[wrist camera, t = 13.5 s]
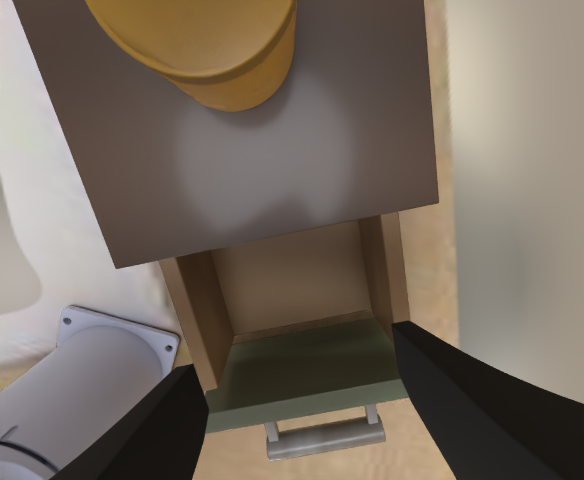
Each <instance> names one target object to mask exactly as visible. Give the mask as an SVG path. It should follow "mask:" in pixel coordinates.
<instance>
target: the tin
mask: <svg viewBox="0 0 584 480" xmlns="http://www.w3.org/2000/svg"><path fill="white" fill-rule="evenodd" d="M85 1H86V3H87V5H88V7H89V9H90V11H91V12H92V14H93V15H94V17H95V18H96V20H97V22H98V23H99V25H100V26H101V27H102V28H103V29H104V31H105V32H106V33H107V34H108V36H109V37H110V38H111V39H112V40H113V41H114V42H115V43H116V44H117V45H118V46H119V47H120V48H121V49H123V50H124V51H125V52H126V53H128V54H129V55H130V56H132V57H133V58H134V59H136V60H137V61H138V62H140V63H141V64H143V65H144V66H145V67H147V68H149V69H150V70H152V71H154V72H155V73H157V74H159V75H161V76H163V77H164V78H165V79H167V80H168V81H169V82H171V83H172V84H174V85H175V86H176V87H178V88H179V89H180V90H182V91H183V92H184V93H186V94H187V95H188V96H190V97H191V98H193V99H194V100H195V101H197V102H199V103H200V104H202V105H204V106H206V107H209V108H211V109H215V110H218V111H225V112H238V111H244V110H247V109H251V108H253V107H256V106H258V105H260V104H261V103H263V102H264V101H266V100H267V99H268V98H270V97H271V96H272V95H273V94H274V93H275V92H276V91H277V89H278V88H279V87H280V86H281V84H282V83H283V81H284V79H285V77H286V75H287V73H288V71H289V68H290V66H291V63H292V58H293V54H294V45H295V27H296V8H297V0H85Z"/></svg>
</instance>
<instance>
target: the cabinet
mask: <svg viewBox="0 0 584 480" xmlns="http://www.w3.org/2000/svg"><path fill="white" fill-rule="evenodd" d="M12 1H13V3H14V6H15V8H16V11H17V14H18V16H19V19H20V21H21V24H22V26H23V29H24V32H25V34H26V37H27V39H28V42H29V45H30V47H31V50H32V52H33V55H34V58H35V60H36V63H37V65H38V68H39V71H40V73H41V76H42V78H43V81H44V84H45V86H46V89H47V91H48V94H49V97H50V99H51V102H52V104H53V107H54V110H55V112H56V115H57V117H58V120H59V123H60V125H61V128H62V130H63V133H64V136H65V138H66V141H67V143H68V146H69V149H70V151H71V154H72V156H73V159H74V162H75V164H76V167H77V169H78V172H79V175H80V177H81V180H82V182H83V185H84V187H85V190H86V193H87V195H88V198H89V200H90V203H91V206H92V208H93V211H94V213H95V216H96V219H97V221H98V224H99V226H100V229H101V232H102V234H103V237H104V239H105V242H106V245H107V247H108V250H109V252H110V255H111V258H112V260H113V263H114V265H115V268H116V269H120V268H124V267H129V266H134V265H139V264H144V263H149V262H154V261H159V260H163V259H168V258H173V257H178V256H183V255H188V254H193V253H198V252H203V251H207V250H212V249H217V248H222V247H227V246H232V245H237V244H242V243H246V242H251V241H256V240H261V239H266V238H271V237H276V236H281V235H285V234H290V233H295V232H300V231H305V230H310V229H315V228H320V227H325V226H329V225H334V224H339V223H344V222H349V221H354V220H359V219H364V218H368V217H373V216H378V215H383V214H388V213H393V212H398V211H403V210H407V209H412V208H417V207H422V206H427V205H432V204H437V203H439V195H438V182H437V169H436V156H435V143H434V130H433V117H432V103H431V90H430V77H429V64H428V51H427V38H426V25H425V12H424V0H297V8H296V27H295V45H294V54H293V58H292V63H291V66H290V68H289V71H288V73H287V75H286V77H285V79H284V81H283V83H282V84H281V86H280V87H279V88H278V89H277V91H276V92H275V93H274V94H273V95H272V96H271V97H270V98H268V99H267V100H266V101H264V102H263V103H261V104H260V105H258V106H256V107H253V108H251V109H247V110H244V111H238V112H225V111H218V110H215V109H211V108H209V107H206V106H204V105H202V104H200V103H199V102H197V101H195V100H194V99H193V98H191V97H190V96H188V95H187V94H186V93H184V92H183V91H182V90H180V89H179V88H178V87H176V86H175V85H174V84H172V83H171V82H169V81H168V80H167V79H165V78H164V77H163V76H161V75H159V74H157V73H155V72H154V71H152V70H150V69H149V68H147V67H145V66H144V65H143V64H141V63H140V62H138V61H137V60H136V59H134V58H133V57H132V56H130V55H129V54H128V53H126V52H125V51H124V50H123V49H121V48H120V47H119V46H118V45H117V44H116V43H115V42H114V41H113V40H112V39H111V38H110V37H109V36H108V34H107V33H106V32H105V31H104V29H103V28H102V27H101V26H100V25H99V23H98V22H97V20H96V18H95V17H94V15H93V14H92V12H91V11H90V9H89V7H88V5H87V3H86V1H85V0H12Z"/></svg>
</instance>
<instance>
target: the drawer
mask: <svg viewBox="0 0 584 480" xmlns="http://www.w3.org/2000/svg"><path fill="white" fill-rule="evenodd" d="M159 264H160V267H161V269H162V272H163V275H164V278H165V281H166V284H167V287H168V290H169V293H170V296H171V299H172V302H173V305H174V307H175V310H176V313H177V316H178V319H179V322H180V325H181V328H182V331H183V334H184V337H185V340H186V343H187V345H188V348H189V351H190V354H191V357H192V360H193V363H194V366H195V369H196V372H197V375H198V378H199V380H200V383H201V386H202V389H203V391H206V394H205V399H206V401H207V404H208V407H209V415H208V421H207V427H206V432H205V434H209V433H214V432H220V431H225V430H231V429H236V428H242V427H248V426H253V425H259V424H264V425H265V429H266V432H267V441H266V445H267V455H268V459H269V461H270V462H272V461H278V460H284V459H289V458H295V457H301V456H306V455H312V454H318V453H324V452H329V451H335V450H341V449H347V448H352V447H358V446H364V445H369V444H375V443H381V442H385V441H386V437H385V432H384V428H383V425H382V422H381V419H380V416H379V415H378V414H377V410H376V404H375V403H381V402H386V401H392V400H398V399H403V398H409V396H408V393H407V391H406V389H405V387H404V385H403V382H402V380H401V378H400V375H399V373H398V368H397V361H396V354H395V347H394V341H393V334H392V327H391V324H392V323H397V322H402V321H407V320H409V321H411V320H410V312H409V303H408V294H407V285H406V276H405V268H404V259H403V250H402V241H401V232H400V224H399V215H398V212H393V213H388V214H383V215H378V216H373V217H368V218H364V219H359V220H354V221H349V222H344V223H339V224H334V225H329V226H325V227H320V228H315V229H310V230H305V231H300V232H295V233H290V234H285V235H281V236H276V237H271V238H266V239H261V240H256V241H251V242H246V243H242V244H237V245H232V246H227V247H222V248H217V249H212V250H207V251H203V252H198V253H193V254H188V255H183V256H178V257H173V258H168V259H163V260H159ZM371 309H372V311H373V313H374V314H375V316H376V317H374V318H369V319H364V320H359V321H353V322H348V323H343V324H338V325H332V326H327V327H322V328H317V329H312V330H306V331H301V332H296V333H291V334H285V335H280V336H275V337H270V338H265V339H259V340H254V341H249V342H244V343H238V344H233V345H232V343H233V340H234V336H236V335H241V334H246V333H251V332H256V331H262V330H267V329H272V328H277V327H282V326H288V325H293V324H298V323H303V322H308V321H313V320H319V319H324V318H329V317H334V316H339V315H345V314H350V313H355V312H360V311H365V310H371ZM359 406H364V407H365V413H366V416H365V417H359V418H353V419H348V420H342V421H337V422H331V423H325V424H320V425H314V426H309V427H303V428H297V429H292V430H286V431H281V432H279V430H278V426H277V422H276V421H281V420H286V419H292V418H298V417H303V416H309V415H314V414H320V413H325V412H331V411H336V410H342V409H348V408H353V407H359Z"/></svg>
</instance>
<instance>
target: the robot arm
mask: <svg viewBox="0 0 584 480" xmlns="http://www.w3.org/2000/svg"><path fill="white" fill-rule="evenodd" d="M68 318H69V319H70V320H71V321H69V319H68ZM391 327H392V334H393V341H394V347H395V354H396V361H397V368H398V373H399V375H400V378H401V380H402V382H403V385H404V387H405V389H406V391H407V393H408V396H409V398H410V400H411V402H412V404H413V405H414V407H415V409H416V411H417V412H418V414H419V416H420V418H421V419H422V421H423V423H424V424H425V426H426V428H427V430H428V431H429V433H430V435H431V436H432V438H433V440H434V441H435V443H436V445H437V446H438V448H439V450H440V452H441V453H442V455H443V457H444V458H445V460H446V462H447V463H448V465H449V467H450V469H451V470H452V472H453V474H454V476H455V477H456V479H457V480H584V404H582V403H579V402H577V401H574V400H571V399H568V398H565V397H562V396H560V395H557V394H555V393H552V392H549V391H547V390H544V389H542V388H539V387H537V386H534V385H532V384H530V383H528V382H525V381H523V380H520V379H518V378H516V377H513V376H511V375H509V374H507V373H504V372H502V371H500V370H498V369H496V368H494V367H492V366H490V365H488V364H486V363H484V362H482V361H480V360H478V359H476V358H473V357H471V356H470V355H468V354H466V353H464V352H462V351H461V350H459V349H457V348H455V347H453V346H452V345H450V344H448V343H446V342H444V341H443V340H441V339H439V338H438V337H436V336H434V335H433V334H431V333H429V332H427V331H426V330H424V329H422V328H421V327H419V326H417V325H416V324H414V323H412V322H411V321H409V320H407V321H402V322H397V323H392V324H391ZM178 344H179V337H178V336H177V335H176V334H173V333H169V332H166V331H162V330H158V329H155V328H151V327H148V326H144V325H140V324H137V323H133V322H129V321H126V320H122V319H118V318H115V317H111V316H108V315H104V314H100V313H97V312H93V311H89V310H86V309H82V308H78V307H75V306H68V307H66V308H64V309H63V310H62V312H61V319H60V326H59V332H58V339H57V346H56V349H55V350H54V351H52V352H51V353H50V354H49V355H47V356H46V357H45V358H43V359H42V360H41V361H40V362H38V363H37V364H36V365H34V366H33V367H32V368H30V369H29V370H28V371H27V372H25V373H24V374H23V375H21V376H20V377H19V378H18V379H16V380H15V381H14V382H12V383H11V384H10V385H9V386H7V387H6V388H5V389H3V390H2V391H1V392H0V480H192V478H193V475H194V471H195V468H196V465H197V462H198V458H199V455H200V452H201V448H202V445H203V441H204V437H205V432H206V427H207V421H208V415H209V407H208V404H207V401H206V399H205V396H204V393H203V390H202V387H201V385H200V382H199V379H198V376H197V373H196V371H195V368H194V365H193V364H190V365H185V366H180V367H176V368H175V369H174V370H173V371H172V367H173V363H174V359H175V356H176V352H177V348H178ZM167 345H170V346H172V348H169V347H168V346H167ZM171 371H172V372H171Z"/></svg>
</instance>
